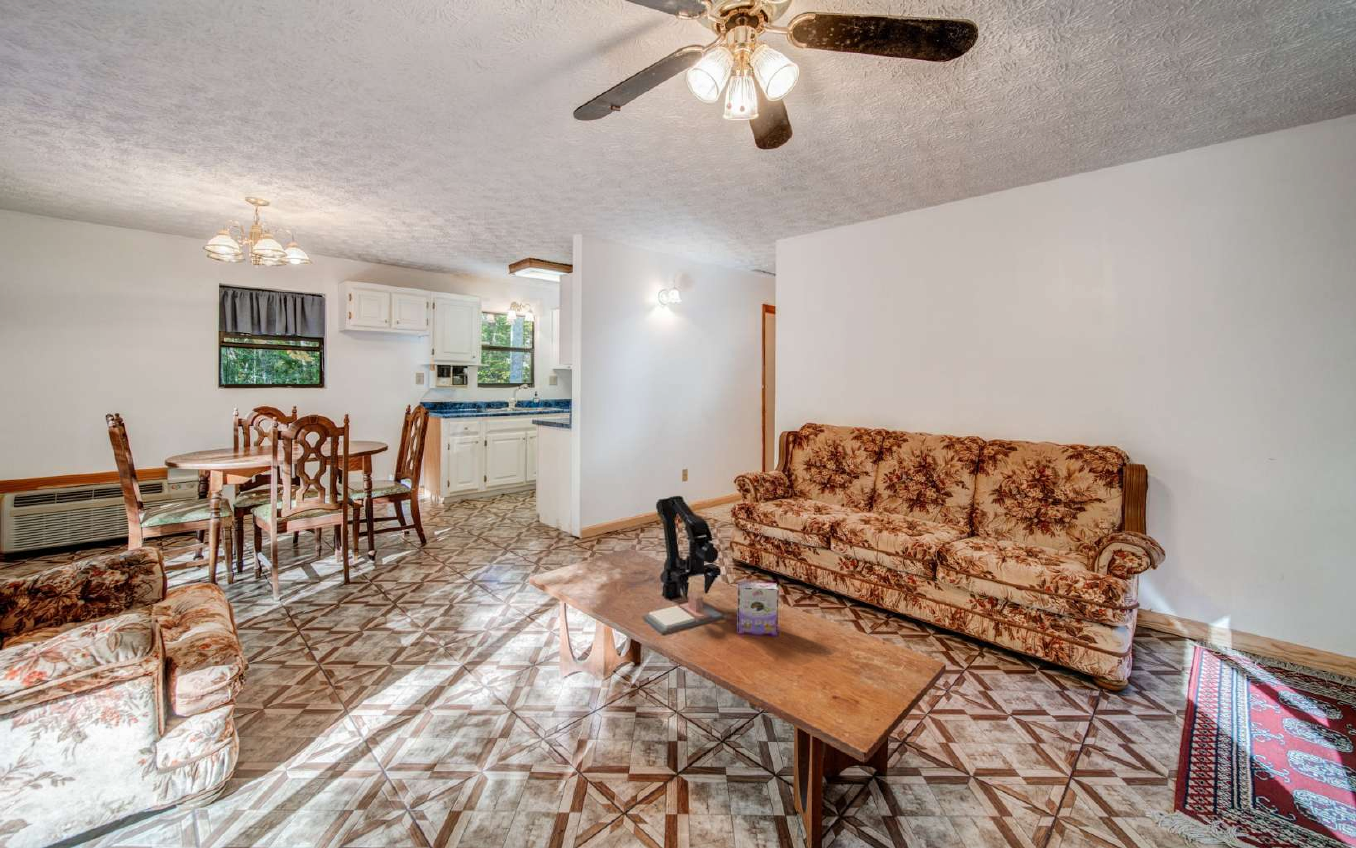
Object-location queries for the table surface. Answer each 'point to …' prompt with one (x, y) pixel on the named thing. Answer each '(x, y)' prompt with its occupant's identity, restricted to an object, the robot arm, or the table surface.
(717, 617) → the mat
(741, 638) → the table surface
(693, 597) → the stub
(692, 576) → the robot arm
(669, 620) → the spiral notepad
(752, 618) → the candy box
